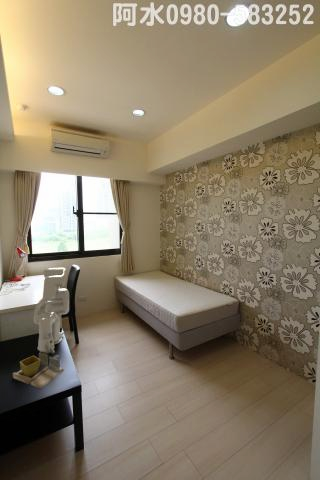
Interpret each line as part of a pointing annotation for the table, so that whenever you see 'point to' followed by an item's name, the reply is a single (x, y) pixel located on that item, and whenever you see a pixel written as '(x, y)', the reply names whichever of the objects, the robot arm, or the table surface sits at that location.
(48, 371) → the beige l-shaped piece
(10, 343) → the table surface
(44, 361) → the wooden frame with block
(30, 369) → the flower pot
